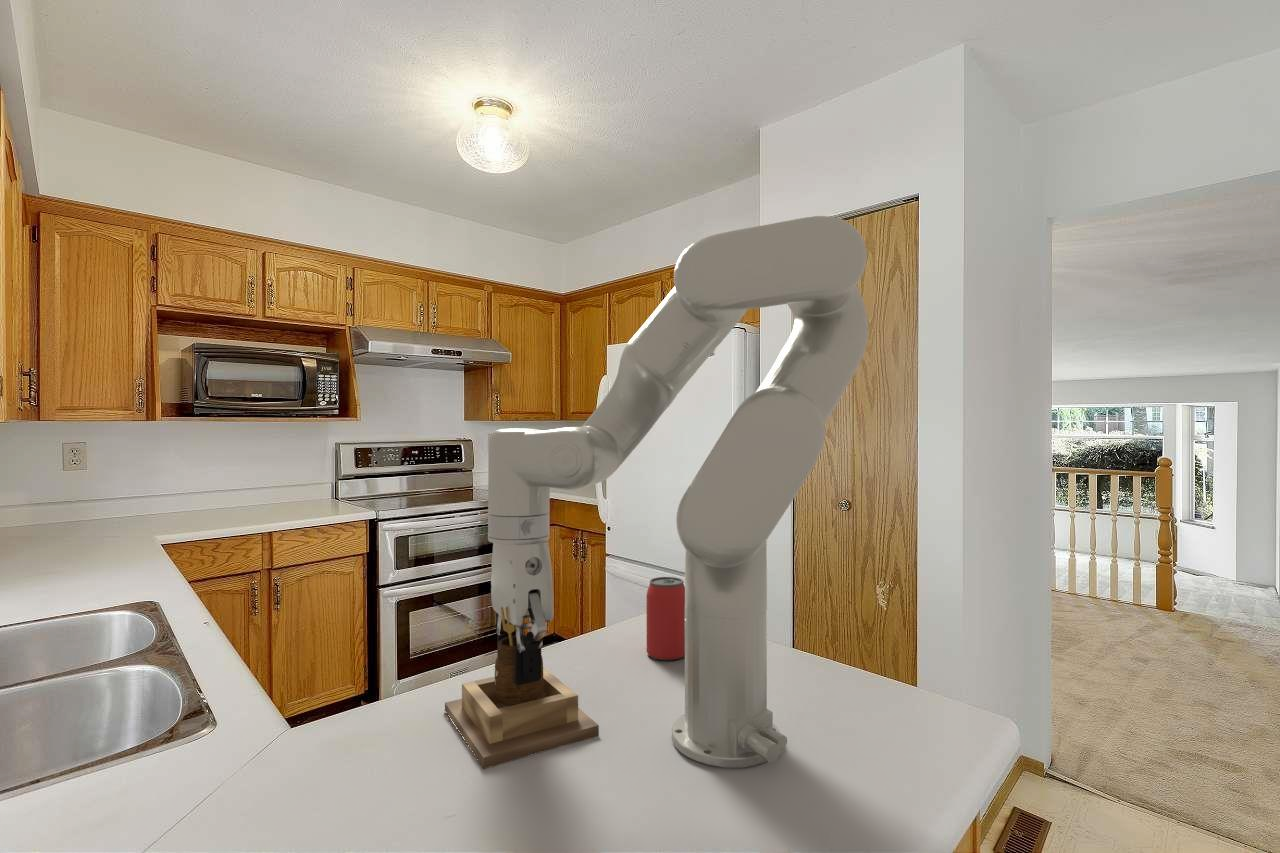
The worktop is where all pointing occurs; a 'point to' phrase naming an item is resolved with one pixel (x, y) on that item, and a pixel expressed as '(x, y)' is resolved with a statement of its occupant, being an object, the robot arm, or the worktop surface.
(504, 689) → the utensil holder
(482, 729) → the socket board
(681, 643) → the beer can
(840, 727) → the worktop surface
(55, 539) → the worktop surface
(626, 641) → the worktop surface
